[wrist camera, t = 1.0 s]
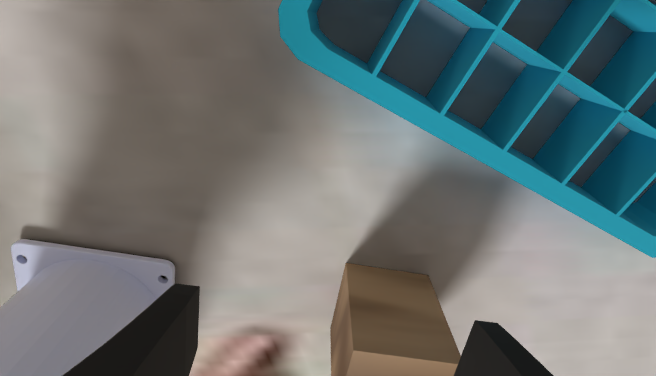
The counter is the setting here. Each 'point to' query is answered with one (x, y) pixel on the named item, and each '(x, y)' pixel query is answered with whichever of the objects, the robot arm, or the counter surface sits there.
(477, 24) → the ice cube tray
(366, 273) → the walnut block
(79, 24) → the counter surface
